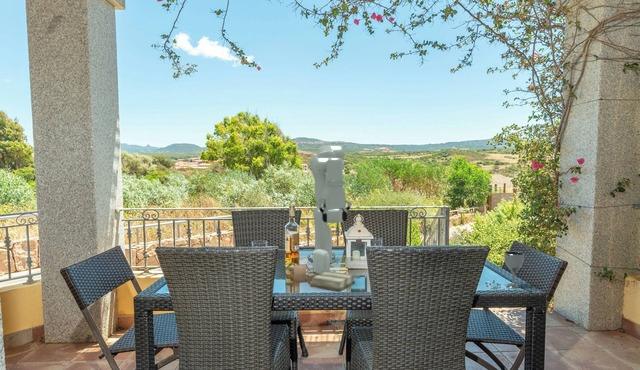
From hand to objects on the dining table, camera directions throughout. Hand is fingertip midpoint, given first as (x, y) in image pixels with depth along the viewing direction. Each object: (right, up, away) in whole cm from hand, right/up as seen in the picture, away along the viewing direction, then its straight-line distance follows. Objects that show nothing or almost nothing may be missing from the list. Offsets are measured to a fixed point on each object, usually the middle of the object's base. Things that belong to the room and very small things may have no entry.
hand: (334, 221), depth 196 cm
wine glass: (+81, -29, -5) cm, 86 cm away
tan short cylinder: (-16, -29, +5) cm, 33 cm away
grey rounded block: (-6, -28, +17) cm, 34 cm away
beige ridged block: (-1, -29, -3) cm, 29 cm away
